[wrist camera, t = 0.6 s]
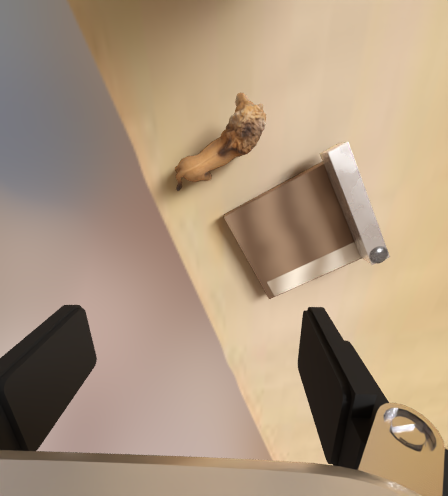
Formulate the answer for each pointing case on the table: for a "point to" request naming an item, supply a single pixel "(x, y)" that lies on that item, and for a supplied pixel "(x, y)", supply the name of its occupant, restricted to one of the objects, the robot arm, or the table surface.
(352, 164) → the folding leg
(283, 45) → the table surface
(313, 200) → the stool seat
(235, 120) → the lion figurine
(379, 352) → the table surface
